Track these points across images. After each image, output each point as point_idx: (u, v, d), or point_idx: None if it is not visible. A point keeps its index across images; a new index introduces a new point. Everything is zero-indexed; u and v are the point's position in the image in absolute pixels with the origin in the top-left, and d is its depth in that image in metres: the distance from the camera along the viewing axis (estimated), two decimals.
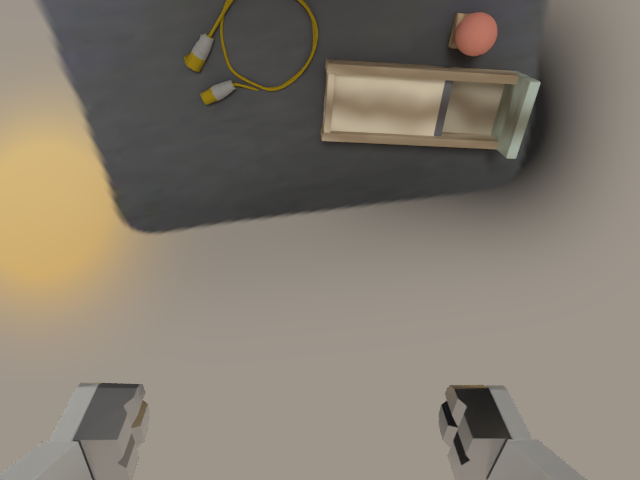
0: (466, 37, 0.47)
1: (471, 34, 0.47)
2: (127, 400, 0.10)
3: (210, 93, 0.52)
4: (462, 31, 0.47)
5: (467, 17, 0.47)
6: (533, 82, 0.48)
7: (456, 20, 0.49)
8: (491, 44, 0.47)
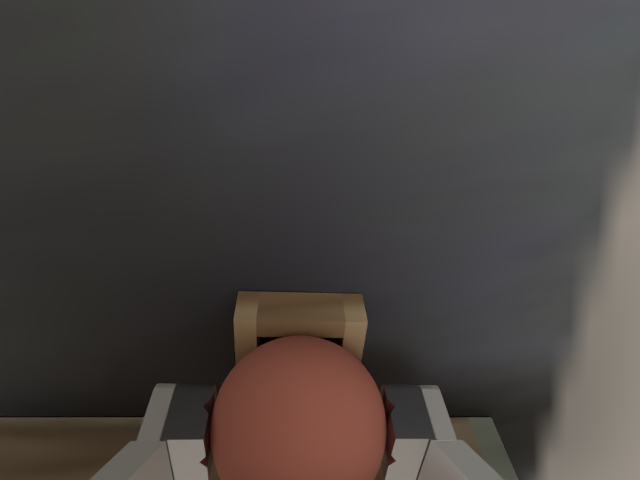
0: None
1: None
2: (206, 400, 0.11)
3: None
4: (215, 455, 0.10)
5: (239, 386, 0.10)
6: None
7: None
8: None
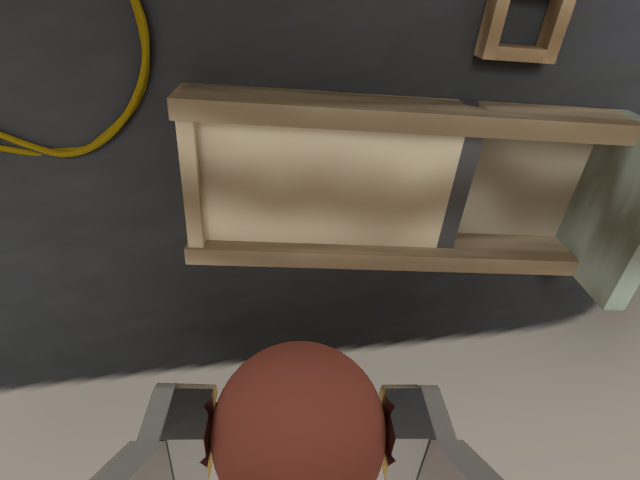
0: None
1: None
2: (206, 400, 0.11)
3: None
4: (216, 460, 0.10)
5: (239, 392, 0.10)
6: None
7: None
8: None
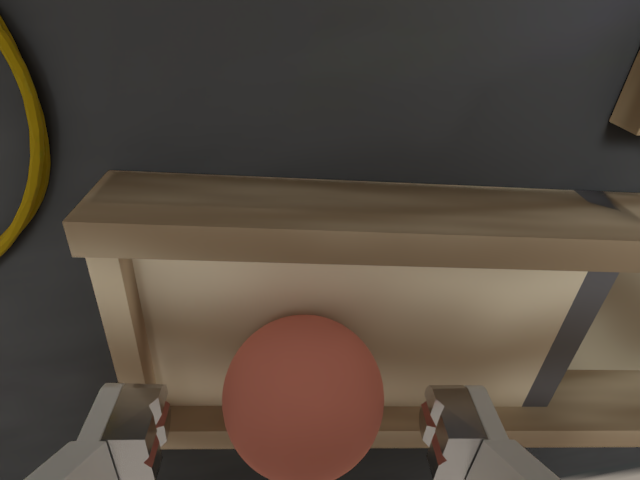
0: (245, 456, 0.11)
1: (260, 458, 0.10)
2: (152, 400, 0.10)
3: None
4: (230, 425, 0.11)
5: (249, 361, 0.11)
6: None
7: None
8: (360, 459, 0.11)
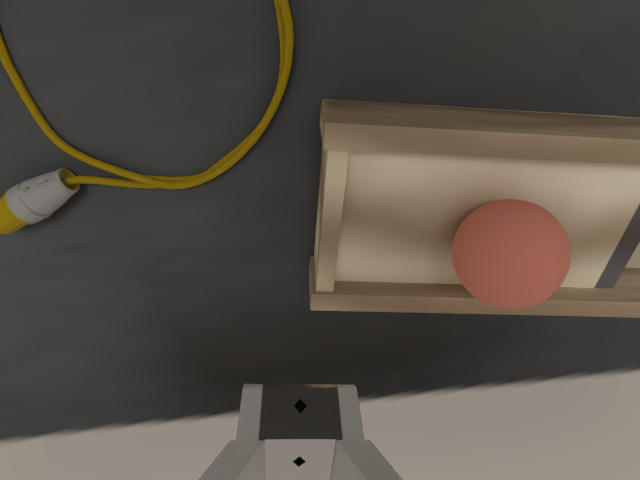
0: (539, 291, 0.16)
1: (553, 282, 0.16)
2: (296, 400, 0.11)
3: (5, 209, 0.19)
4: (527, 279, 0.16)
5: (516, 236, 0.16)
6: None
7: None
8: None
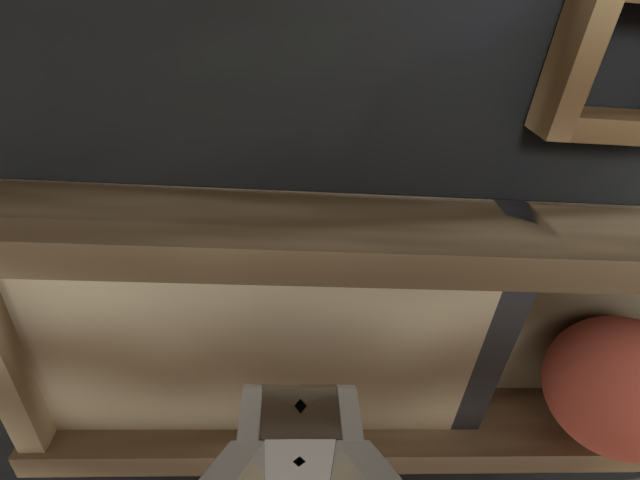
0: (581, 420, 0.13)
1: (603, 424, 0.12)
2: (296, 400, 0.11)
3: None
4: (570, 392, 0.13)
5: (594, 343, 0.13)
6: None
7: (586, 5, 0.09)
8: None
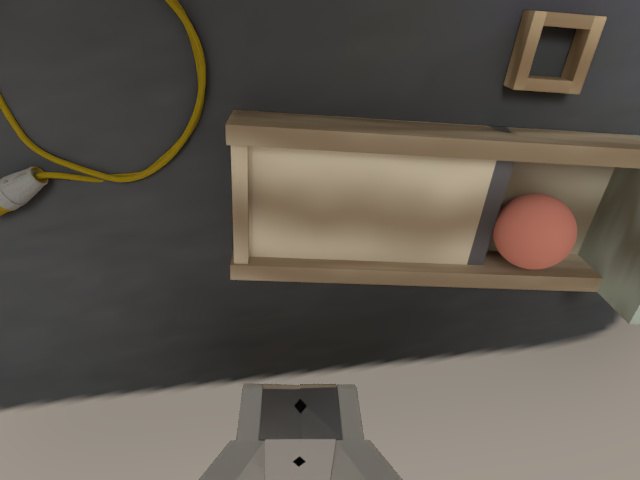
0: (494, 229, 0.25)
1: (499, 228, 0.25)
2: (295, 400, 0.11)
3: None
4: None
5: (518, 197, 0.25)
6: None
7: (527, 27, 0.21)
8: (538, 261, 0.24)
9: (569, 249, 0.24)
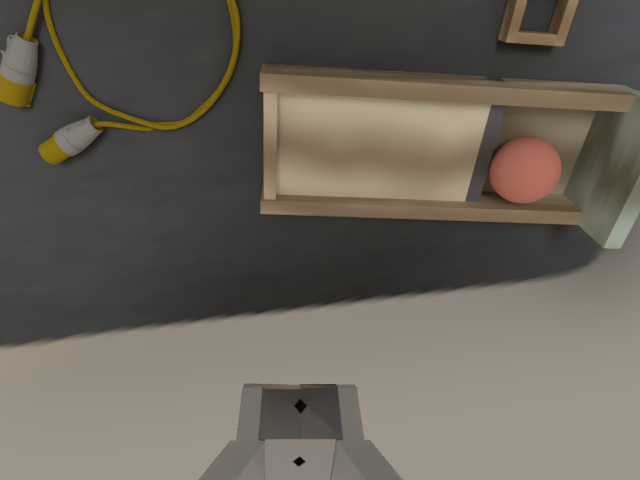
0: (490, 169, 0.29)
1: (494, 168, 0.29)
2: (295, 400, 0.11)
3: (54, 144, 0.28)
4: (492, 158, 0.29)
5: (510, 140, 0.29)
6: None
7: None
8: (528, 194, 0.28)
9: (554, 183, 0.28)
